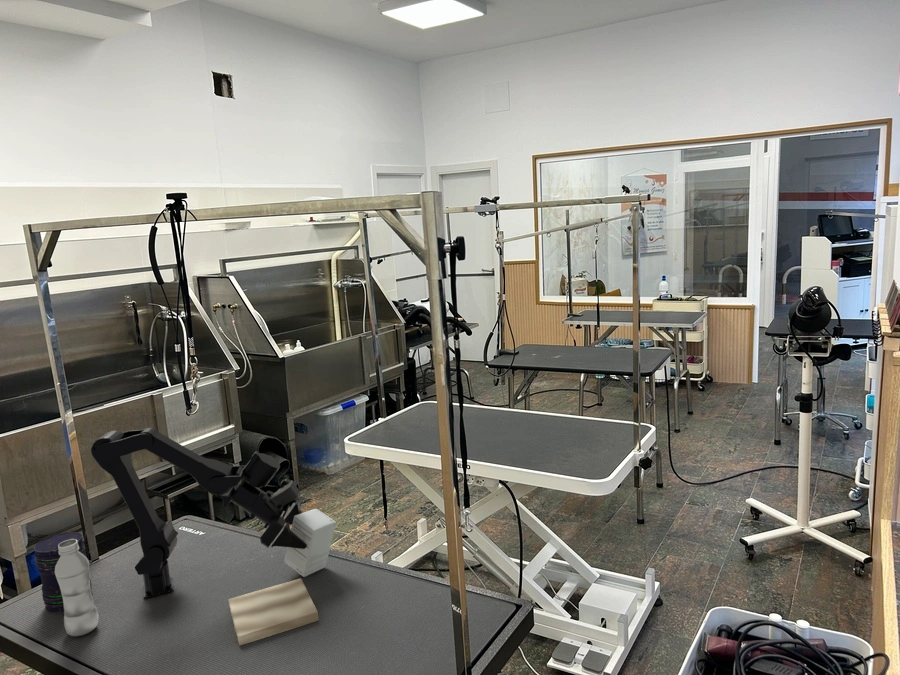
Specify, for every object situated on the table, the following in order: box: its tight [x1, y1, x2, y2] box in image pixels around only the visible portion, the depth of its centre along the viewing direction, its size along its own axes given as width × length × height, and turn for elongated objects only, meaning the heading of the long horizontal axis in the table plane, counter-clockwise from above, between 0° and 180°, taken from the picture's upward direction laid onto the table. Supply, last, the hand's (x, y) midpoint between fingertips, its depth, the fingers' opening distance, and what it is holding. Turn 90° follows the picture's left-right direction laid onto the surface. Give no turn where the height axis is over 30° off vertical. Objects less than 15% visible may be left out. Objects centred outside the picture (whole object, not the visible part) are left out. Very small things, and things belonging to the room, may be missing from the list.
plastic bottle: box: [55, 539, 99, 637], centre depth 139 cm, size 6×7×20 cm
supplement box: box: [283, 508, 337, 578], centre depth 157 cm, size 7×7×13 cm
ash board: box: [227, 578, 319, 646], centre depth 141 cm, size 16×16×2 cm
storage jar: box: [33, 531, 94, 615], centre depth 152 cm, size 10×10×15 cm
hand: (309, 537), depth 157 cm, fingers closed on supplement box, 9 cm apart
